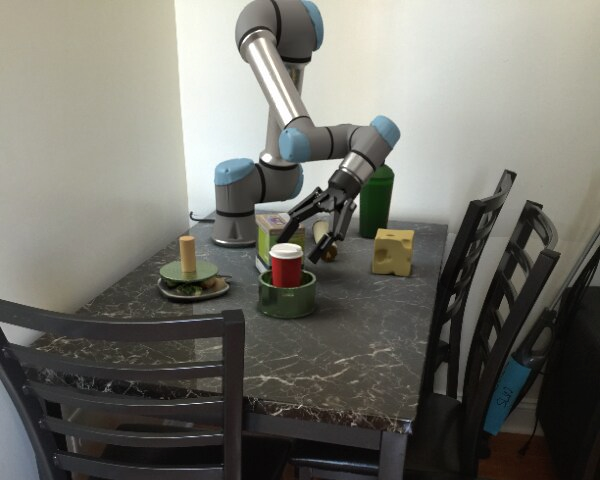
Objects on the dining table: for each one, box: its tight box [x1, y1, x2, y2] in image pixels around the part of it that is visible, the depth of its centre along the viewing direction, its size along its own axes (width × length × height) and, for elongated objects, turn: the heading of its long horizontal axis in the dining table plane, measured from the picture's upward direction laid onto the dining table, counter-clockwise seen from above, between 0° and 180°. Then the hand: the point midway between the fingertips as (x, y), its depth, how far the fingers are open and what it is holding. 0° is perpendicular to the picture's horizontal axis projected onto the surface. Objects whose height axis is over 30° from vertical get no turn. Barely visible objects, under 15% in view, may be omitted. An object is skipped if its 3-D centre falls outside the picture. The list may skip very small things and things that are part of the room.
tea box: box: [255, 212, 306, 274], centre depth 171 cm, size 15×10×15 cm
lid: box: [159, 235, 219, 282], centre depth 160 cm, size 14×14×9 cm
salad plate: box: [156, 273, 233, 303], centre depth 164 cm, size 19×18×5 cm
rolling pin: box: [311, 220, 339, 262], centre depth 194 cm, size 32×6×5 cm, turn 3°
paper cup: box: [269, 243, 303, 287], centre depth 153 cm, size 8×8×14 cm
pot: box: [258, 269, 317, 320], centre depth 154 cm, size 13×19×8 cm
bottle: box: [358, 159, 395, 239], centre depth 200 cm, size 11×11×28 cm
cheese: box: [372, 228, 415, 277], centre depth 178 cm, size 10×11×10 cm
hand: (294, 252), depth 150 cm, fingers open, 13 cm apart
